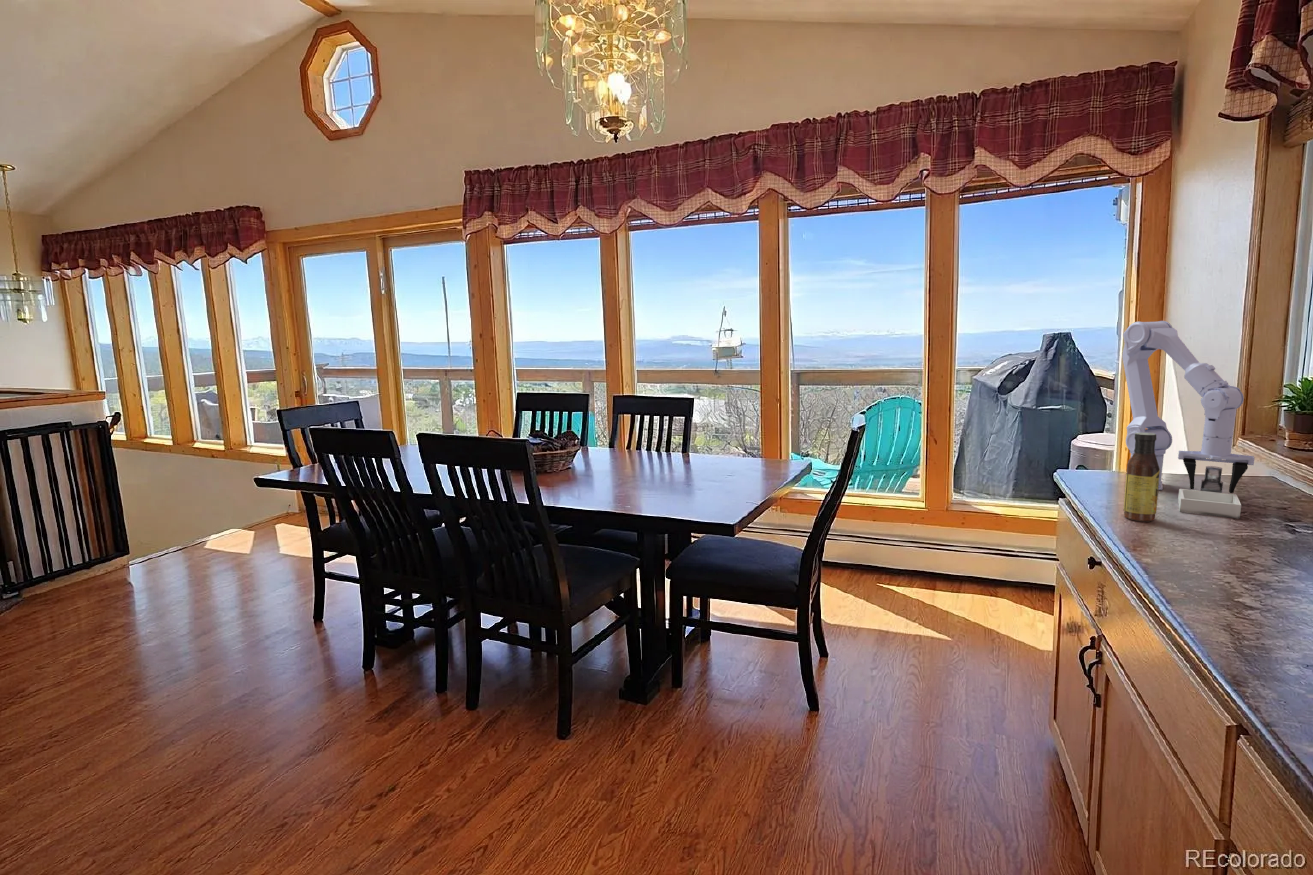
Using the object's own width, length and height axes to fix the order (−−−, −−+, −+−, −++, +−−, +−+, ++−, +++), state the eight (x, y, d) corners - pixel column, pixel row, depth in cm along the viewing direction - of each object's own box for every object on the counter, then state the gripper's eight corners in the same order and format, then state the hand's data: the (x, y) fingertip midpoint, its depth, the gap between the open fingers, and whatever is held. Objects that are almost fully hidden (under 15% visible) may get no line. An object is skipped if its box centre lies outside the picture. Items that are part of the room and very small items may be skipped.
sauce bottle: (1160, 523, 158) (1170, 436, 154) (1129, 522, 159) (1138, 436, 156) (1146, 515, 164) (1155, 431, 161) (1117, 514, 165) (1125, 431, 162)
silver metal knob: (1199, 492, 177) (1202, 465, 176) (1220, 494, 174) (1224, 466, 173) (1200, 495, 173) (1203, 468, 172) (1222, 498, 171) (1225, 470, 170)
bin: (1177, 501, 175) (1179, 488, 174) (1234, 507, 169) (1236, 494, 168) (1179, 511, 166) (1181, 498, 165) (1239, 518, 160) (1241, 505, 159)
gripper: (1181, 436, 172) (1175, 490, 174) (1258, 441, 164) (1251, 497, 166) (1180, 432, 178) (1174, 484, 180) (1254, 436, 170) (1247, 491, 172)
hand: (1211, 490), depth 174 cm, fingers open, 7 cm apart
